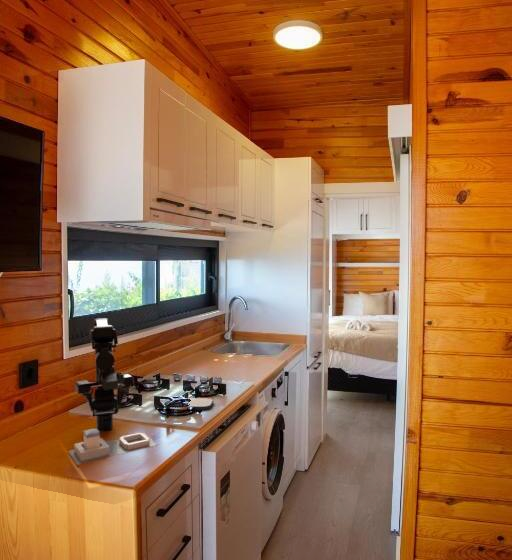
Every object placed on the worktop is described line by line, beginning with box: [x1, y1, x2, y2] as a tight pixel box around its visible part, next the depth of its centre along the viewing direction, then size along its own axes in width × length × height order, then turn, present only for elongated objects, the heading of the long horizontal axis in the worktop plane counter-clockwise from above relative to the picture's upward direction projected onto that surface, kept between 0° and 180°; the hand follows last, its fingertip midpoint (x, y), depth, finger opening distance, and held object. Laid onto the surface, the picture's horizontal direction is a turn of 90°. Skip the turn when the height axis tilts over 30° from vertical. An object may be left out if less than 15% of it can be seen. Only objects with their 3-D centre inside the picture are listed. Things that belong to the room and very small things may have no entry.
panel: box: [67, 432, 159, 468], centre depth 161 cm, size 12×26×4 cm, turn 123°
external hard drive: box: [187, 397, 214, 411], centre depth 206 cm, size 24×12×2 cm, turn 86°
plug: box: [83, 427, 101, 450], centre depth 157 cm, size 4×4×7 cm
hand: (105, 408), depth 167 cm, fingers open, 9 cm apart
